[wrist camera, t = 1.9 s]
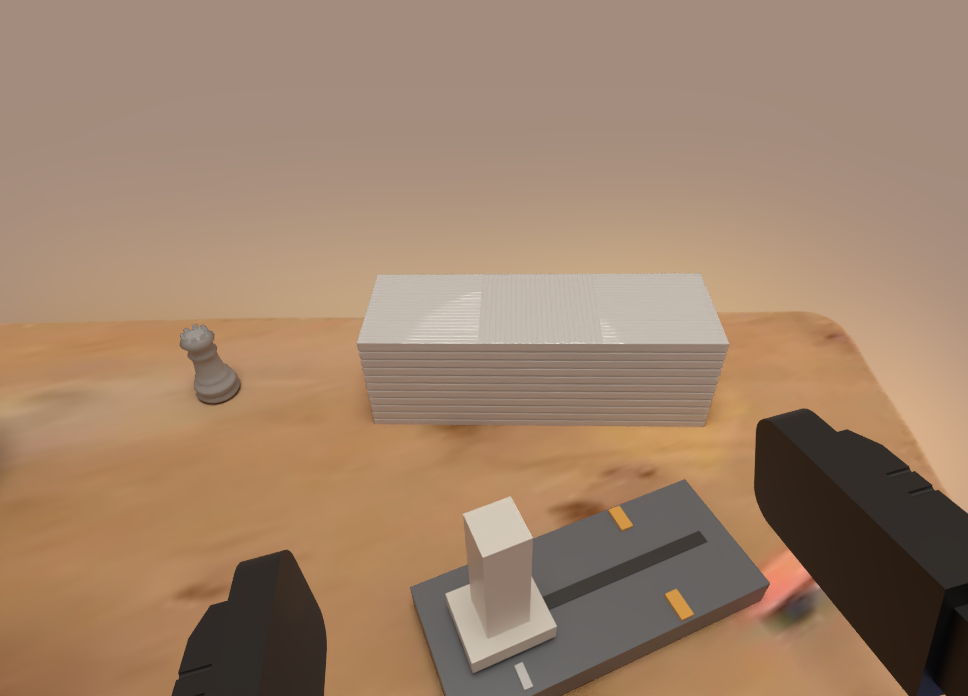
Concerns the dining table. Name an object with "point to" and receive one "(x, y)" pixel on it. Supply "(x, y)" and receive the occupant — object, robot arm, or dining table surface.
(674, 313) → the stack of papers
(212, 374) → the rook chess piece
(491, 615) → the fader tab
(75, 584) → the dining table surface
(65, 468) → the dining table surface
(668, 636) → the fader console
